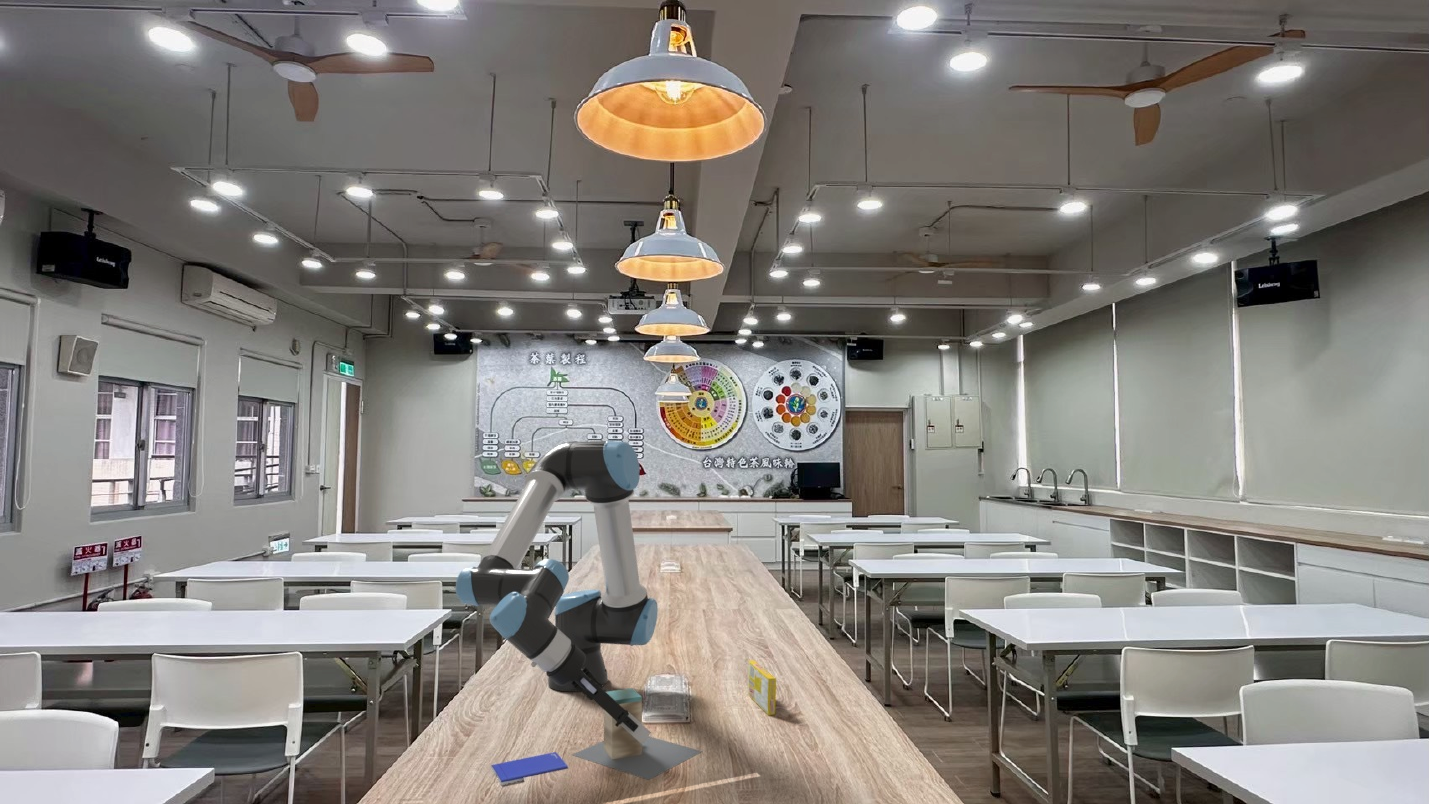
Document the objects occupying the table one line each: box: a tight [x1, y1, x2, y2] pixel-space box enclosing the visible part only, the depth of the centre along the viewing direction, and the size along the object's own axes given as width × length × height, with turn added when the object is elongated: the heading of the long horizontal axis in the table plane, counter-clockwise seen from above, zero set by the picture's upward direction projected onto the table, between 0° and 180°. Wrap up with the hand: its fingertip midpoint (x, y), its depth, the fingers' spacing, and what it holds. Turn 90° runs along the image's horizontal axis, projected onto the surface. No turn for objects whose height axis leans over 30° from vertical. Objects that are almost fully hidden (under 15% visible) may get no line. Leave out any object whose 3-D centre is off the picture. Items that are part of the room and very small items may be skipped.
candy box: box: [747, 660, 777, 716], centre depth 182 cm, size 16×2×8 cm, turn 15°
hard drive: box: [491, 751, 569, 786], centre depth 145 cm, size 2×8×12 cm
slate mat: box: [571, 735, 703, 781], centre depth 151 cm, size 20×16×1 cm
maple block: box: [603, 687, 643, 759], centre depth 152 cm, size 6×6×11 cm
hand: (638, 729), depth 154 cm, fingers open, 8 cm apart
